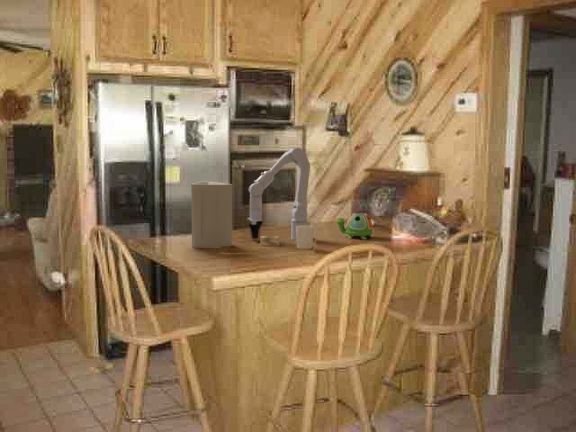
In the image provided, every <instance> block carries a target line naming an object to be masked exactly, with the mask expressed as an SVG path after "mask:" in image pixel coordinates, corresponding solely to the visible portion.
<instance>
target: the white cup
mask: <svg viewBox="0 0 576 432" xmlns="http://www.w3.org/2000/svg"><path fill="white" fill-rule="evenodd" d="M314 229H315V228H314V225H310V226H309V225H299V226H296V240H295V241H296V248H298V249H301V250H304V249H305V250H309V249H313V243H314V232H315V231H314Z"/></svg>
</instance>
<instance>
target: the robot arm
mask: <svg viewBox="0 0 576 432" xmlns="http://www.w3.org/2000/svg"><path fill="white" fill-rule="evenodd" d="M308 158H309V157H308V156H307V152H305V151H304V149H302V148H300V147H295V146H294V147H291V148H289V149H288V150H287V151H285V152H284V153H283V154H282V155H281V156H280V157H279V159H278V160H277V161H276V162H275V163H274V165H272V166H271V168H270V169H269V170H265V171H264V172H261V173H260V176H259V177H258V178H257V179H256V180H255V179H254V181H253V182H254V183H251V185H250V186H249V187H248V192H249V217H247V219H246V220H248V221H250V222H249V223H248V226H249V230H250V229H251V233H252V238H255V239H257V237H258V231H259V228H261V227H262V224H263V223H264V221H262V220H263V218H262V217H263V216H262V215H263V200H262V195H263V193H264V190H266V188H268V186H269V185H271V183H273V181H274V179H275V175H276V174H277V173H278V172H279V171H280V170H281V169H282V168H284V167H285V166H286V164H291V163H295V164H296V166H297V167H298V177H297V183H296V192H295V199H294V202H293V205H292V208H291V210H290V217H291V218H292V219H291V220H290V222H291V224H290V233H291V234H290V237H291V238H290V239H292V240H295V241H296V226H299V225H309V226H311V221H307V218H308V212H307V203H306V202H307V201H306V200H307V196H308V195H307V193H308V187H309V179H310V172H311V163H310V161H309V159H308Z"/></svg>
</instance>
